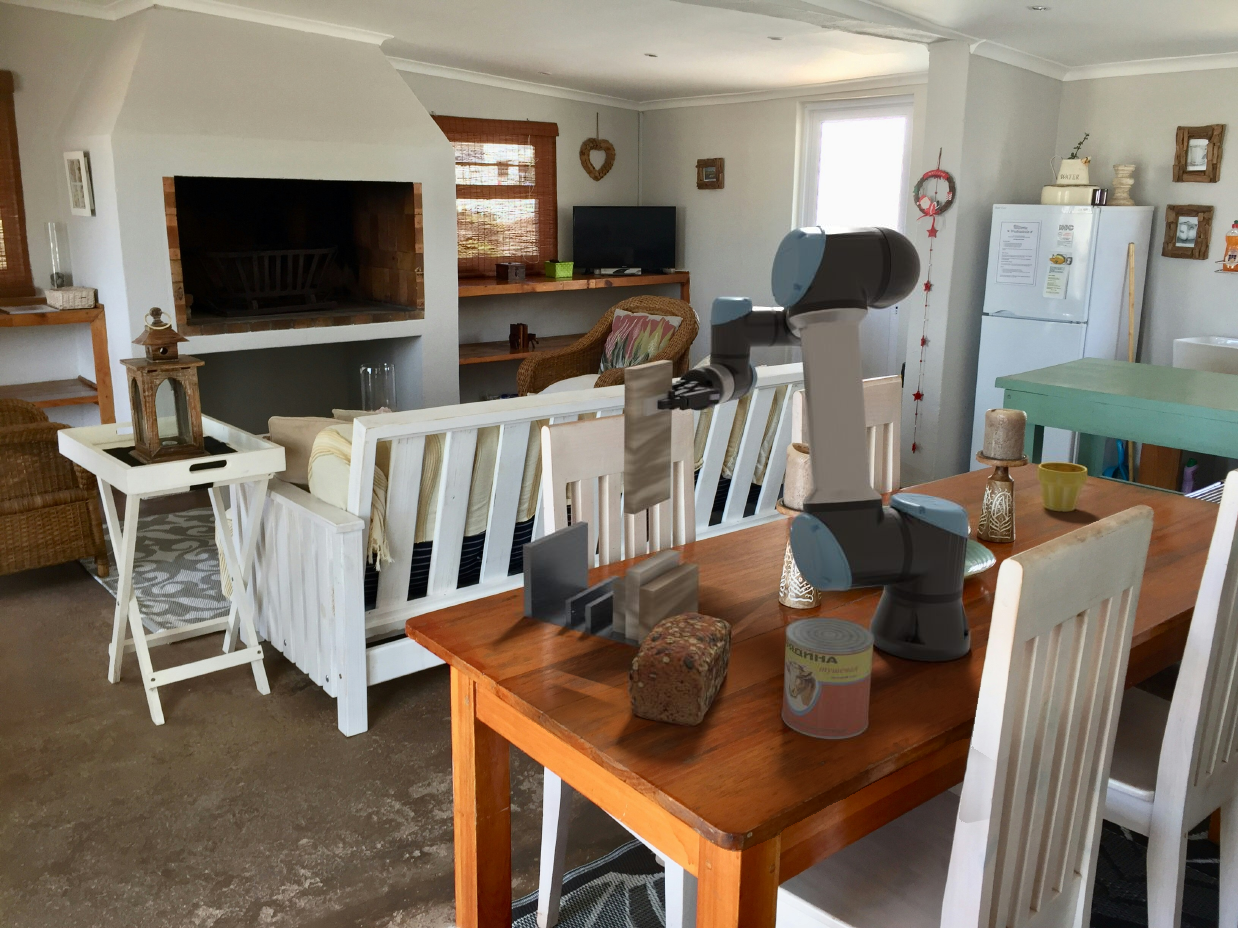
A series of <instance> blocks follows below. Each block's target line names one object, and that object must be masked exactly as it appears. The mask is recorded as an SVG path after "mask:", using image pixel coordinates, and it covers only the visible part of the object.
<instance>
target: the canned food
mask: <svg viewBox="0 0 1238 928" xmlns="http://www.w3.org/2000/svg"><path fill="white" fill-rule="evenodd" d="M873 643H874V636H873V634H872V633H871V632H870V629H868V628H867V627H866V626H863V625H861V624H859V623H856V622H854V621H851V620H847V619H841V618H836V617H835V618H834V617H826V616H825V617H823V616H822V617H821V616H820V617H819V616H818V617H808V618H802V619H798V620H795V621H793V622H792V623H790V624H789V625H788V626H787V627H786V629H785V653H784V655H785V656H784V675H783V693H782V694H783V696H782V710H781V718H782V720H783V721H784V723H785V724H786V725H787V726H788V727H789V728H791V729H793V730H794V731H796V732H798V733H800V734H803V735H805V736H808V737H812V738H817V739H825V740H841V739H842V740H844V739H849V738H854V737H856V736H858V735H861V734H862V733H863V732H865V731H866V730H867V728H868V726H869V709H870V707H869V706H870V695H871V680H872V679H871V678H872V665H873V653H874V652H873V650H874V644H873Z"/></svg>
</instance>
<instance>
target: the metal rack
mask: <svg viewBox="0 0 1238 928" xmlns="http://www.w3.org/2000/svg"><path fill="white" fill-rule="evenodd" d="M522 550H523V551H522V561H523V562H522V564H523V565H522V568H523V570H522V571H523V615H524V617H526V618H529V619H533V620H537V621H540V622H544V623H548V624H551V625H554V626H559V627H561V628H562V627H563V628H565V629H566V628H567V629H570V630H573V631H577V632H582V633H585V634H588V635H592V636H597V637H598V638H599V637H600V638H603V639H607V640H611V641H614V642H617V643H621V644H626V645H628V646H633V647H636V648H639V649H640V647H641V646H640V644H639V641H638V640H635V639H631V638H627V637H626V634H624V633H620V632H616V631H613V582H615V581H617V580H619V579H620V576H619V575H612V576H610V577H608V578H607V579H604V580H602V581H601V582H598V583H597V584H595V585H593V586H591V587H589V523H588V522H586V521H578V522H576V523H573V524H571V525H568V526H566V527H564V528H560V529H559V530H557V531H554V532H552V533H550V534H547V535H545V536H542V537H540V538H538V539H535V540H533V541H530V542H527V543H525V544H523V545H522Z"/></svg>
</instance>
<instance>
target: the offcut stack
mask: <svg viewBox="0 0 1238 928" xmlns="http://www.w3.org/2000/svg"><path fill="white" fill-rule="evenodd" d="M680 553H681V552H680V550H679V551H678V550H674V549H669V548H665V549H663V550H661V551H658V552H657V553H655V554H654V555H652V556H649V557H647V558H645V559H644V560H642V561H640V562H638V563H636V564H634V565H632V566H630V567H629V568H626V569H625V575H624V576H622V577H621V578H619V580H617V581H615V582H613V631H616V632H620V633H624V634H626V637H627V638H631V639H635V640H638V641H639V644H641V642H643V641H644V640H645V639H646V638H647V636H648V635H649V633H650V632H651V630H652V629H653V627H654V626H656V625H658V623H660V622H661V621H662V620H666V619H668V618H670V617H673V616H675V615H676V614H678V613H681V612H685V613H697V614H699V611H698V610H699V579H700V578H699V575H700V572H699V571H700V564H695V563H691V562H687V561H685V562H683V563H681V564H680V556H681V555H680Z"/></svg>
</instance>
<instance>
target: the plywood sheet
mask: <svg viewBox="0 0 1238 928" xmlns="http://www.w3.org/2000/svg"><path fill="white" fill-rule="evenodd" d="M672 383H673V360H667V359H666V360H664V359H662V360H658V361H657V360H656V361H653V362H648V363H642V364H638V365H634V366H631V367H625V368H624V403H623V404H624V410H623V411H624V412H623V413H624V417H623V419H624V421H623V422H624V423H623V424H624V427H623V428H624V436H623V438H624V439H623V446H624V447H623V450H624V451H623V513H625V514H628V515H636V514H638V513H641V512H643V511H645V510H647V509H650V508H651V507H654V506H656V505H659V504H661V503H663V502H665V501H668V500H669V499H671V480H672V479H671V478H672V476H671V473H672V426H673V425H672V424H673V423H672V421H673V420H672V419H673V418H672V415H673V412H672V411H673V410H670V409H667V410H665V411H662V412H659V413H655V414H652V415H649V416H643V399H646V398H649V397H653V396H656V395H660V394H667V398H668V390H672Z"/></svg>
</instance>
